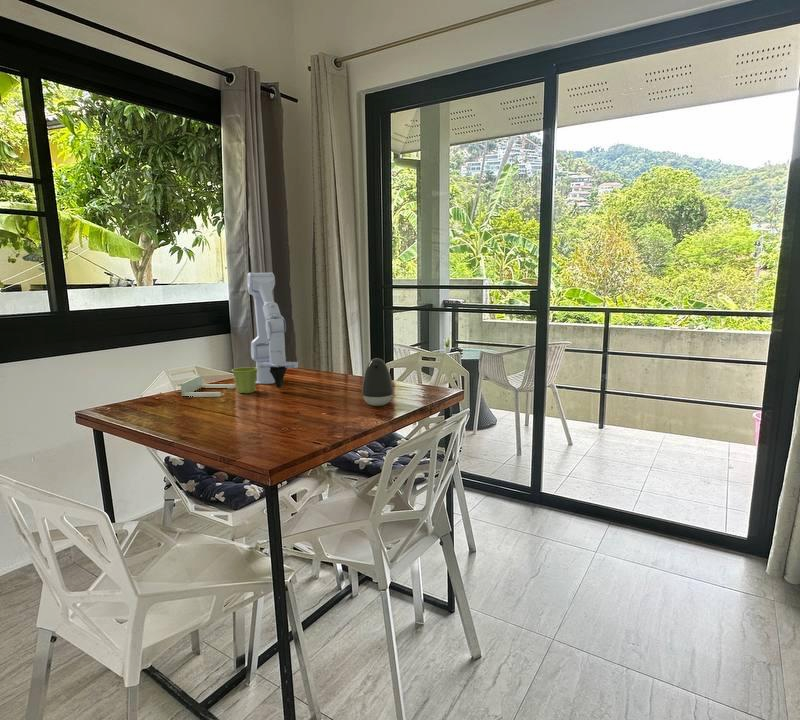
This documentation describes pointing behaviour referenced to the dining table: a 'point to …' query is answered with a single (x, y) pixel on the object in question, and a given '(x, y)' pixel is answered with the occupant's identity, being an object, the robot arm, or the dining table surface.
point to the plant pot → (245, 379)
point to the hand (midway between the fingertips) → (279, 387)
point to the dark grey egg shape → (377, 383)
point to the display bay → (196, 383)
